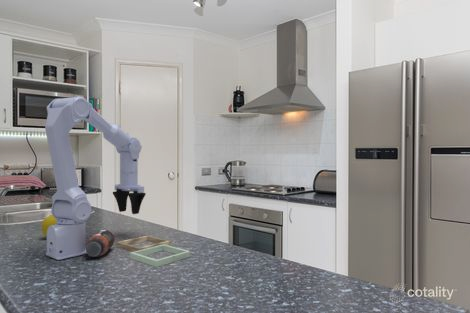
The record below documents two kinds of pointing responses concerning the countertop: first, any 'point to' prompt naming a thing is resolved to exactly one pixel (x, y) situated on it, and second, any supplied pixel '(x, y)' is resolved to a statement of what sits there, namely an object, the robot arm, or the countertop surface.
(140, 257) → the square frame
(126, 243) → the socket collar
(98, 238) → the supplement bottle
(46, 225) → the lemon
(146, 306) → the countertop surface
